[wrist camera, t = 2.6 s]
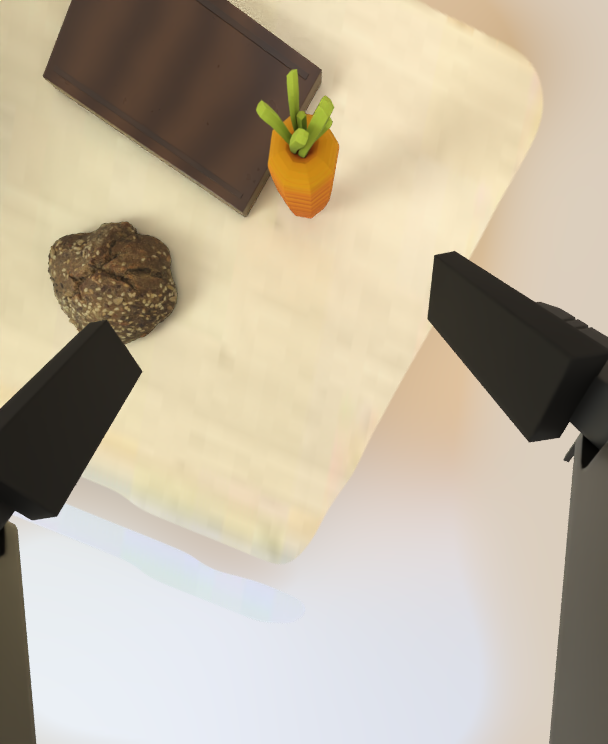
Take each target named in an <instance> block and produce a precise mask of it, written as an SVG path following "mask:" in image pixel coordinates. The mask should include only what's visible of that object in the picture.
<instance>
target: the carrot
mask: <svg viewBox="0 0 608 744" xmlns="http://www.w3.org/2000/svg"><path fill="white" fill-rule="evenodd" d="M287 91H288V101H289V110H290V116H289V117H288V118H287V119H286V120H285V121H284V122H283V121H282V120H281V119H280V117H279V116H278V114H277V113H276V112H275V111H274V110H273V109H272V108H271V107H270V106H269V105H268V104H266V103H265V102H263V101H262V100H261V101H260V102H259V104H258V106H257V109H256V111H257V114H258V115H259V116H260V118H261V119H263V120H264V121H265V122H266V123H267V124H269V125H270V126H271V127H272V128H273V129H274V130H273V131H272V137H271V144H270V152H269V159H268V168H269V171H270V174H271V176H272V179H273V181H274V183H275V186H276V188H277V190H278V192H279V193H280V195H281V196H282V198H283V199H284V201H285V202H286V204H287V205H288V207H289V208H290V210H291V211H292V212H293V213H294V214H295V215H296V216H300V217H306V218H312V217H313V216H315V215H316V214H317V213H319V212H320V211H321V210H323V209H324V207H325V206H326V205H327V203H328V201H329V200H330V195H331V191H332V186H333V180H334V175H335V169H336V163H337V157H338V152H339V144H338V142H337V140H336V138H335V137H334V135H333V134H332V132H331V130H330V129H329V128H330V127H331V125H332V120H331V118H330V115H331V113H332V111H333V109H334V106H333V104H332V102H331V100H330V99H329V98H328V97H327V96H324V97H323V98H322V100H321V101H320V103H319V105H318V107H317V109H316V110H315V112H314V114H313V115H310V114H305V112H304V111H299V86H298V73H297V69H294V70H291V71H290V72H289V74H288V75H287Z"/></svg>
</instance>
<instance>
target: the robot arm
mask: <svg viewBox="0 0 608 744" xmlns="http://www.w3.org/2000/svg"><path fill="white" fill-rule="evenodd" d="M428 320H429V321H430V323H431V324H432V325H433V326H434V328H435V329H436V330H437V331H438V332H439V333H440V335H441V336H442V337H443V338H444V340H445V341H446V342H447V343H448V344H449V346H450V347H451V348H452V349H453V351H454V352H455V353H456V354H457V355H458V357H459V358H460V359H461V360H462V361H463V363H464V364H465V365H466V366H467V368H468V369H469V370H470V371H471V372H472V374H473V375H474V376H475V377H476V378H477V380H478V381H479V382H480V383H481V385H482V386H483V387H484V388H485V389H486V391H487V392H488V393H489V394H490V395H491V397H492V398H493V399H494V400H495V401H496V403H497V404H498V405H499V406H500V408H501V409H502V410H503V411H504V412H505V414H506V415H507V416H508V417H509V418H510V420H511V421H512V422H513V423H514V425H515V426H516V427H517V428H518V429H519V431H520V432H521V433H522V434H523V435H524V437H525V438H526V439H527V440H528V441H529V442H535V441H541V440H548V439H554V438H560V436H561V434H562V433H563V432H564V430H565V428H566V427H567V425H568V423H569V422H571V423H572V424H573V425H574V426H575V427H576V428H577V429H578V430H579V431H580V432H581V433H580V435H579V436H578V438H577V439H576V441H575V442H574V444H573V445H572V447H571V448H570V450H569V451H568V452H567V454H566V456H565V458H564V461H567V462H569V461H570V459H571V458H572V457H573V456H574V464H573V475H572V487H571V498H570V511H569V522H568V533H567V546H566V557H565V569H564V580H563V592H562V603H561V615H560V626H559V637H558V649H557V661H556V672H555V683H554V696H553V707H552V718H551V730H550V741H549V744H608V337H607V336H605V335H603V334H601V333H600V332H598V331H597V330H595V329H593V328H592V327H591V328H588V325H587V324H585V323H584V322H582V321H580V320H575V317H573V316H572V315H570V314H569V313H567V312H565V311H564V310H562V309H560V308H557V307H554V306H551V305H548V304H545V303H542V302H534V301H532V300H531V299H529V298H528V297H526V296H525V295H523V294H521V293H519V292H518V291H517V290H515V289H514V288H512V287H510V286H509V285H507V284H506V283H504V282H503V281H501V280H499V279H498V278H496V277H495V276H493V275H491V274H490V273H488V272H487V271H485V270H484V269H482V268H481V267H479V266H477V265H476V264H474V263H473V262H471V261H470V260H468V259H466V258H465V257H463V256H462V255H460V254H459V253H457V252H455V251H453V252H448V253H443V254H438V255H434V264H433V273H432V282H431V291H430V300H429V309H428ZM141 373H142V370H141V368H140V367H139V366H138V364H137V363H136V361H135V360H134V358H133V357H132V355H131V354H130V352H129V351H128V349H127V348H126V347H125V345H124V344H123V342H122V341H121V339H120V338H119V336H118V335H117V333H116V332H115V330H114V329H113V328H112V326H111V325H110V323H109V322H108V320H102V321H97V322H91V323H89V324H88V325H87V326H85V327H84V328H83V329H82V330H81V331H80V332H79V333H78V334H77V335H76V336H75V337H74V338H73V339H72V340H71V341H70V342H69V343H68V344H67V345H66V346H65V347H64V348H63V349H62V350H61V351H60V352H59V353H58V354H56V355H55V356H54V357H53V358H52V359H51V360H50V361H49V362H48V363H47V364H46V365H45V366H44V367H43V368H42V369H41V370H40V371H39V372H38V373H37V374H36V375H35V376H34V377H33V378H32V379H31V380H30V381H28V382H27V383H26V384H25V385H24V386H23V387H22V388H21V389H20V390H19V391H18V392H17V393H16V394H15V395H14V396H13V397H12V398H11V399H10V400H9V401H8V402H7V403H6V404H5V405H4V406H3V407H2V408H1V409H0V744H36V736H35V724H34V713H33V701H32V690H31V678H30V667H29V655H28V644H27V632H26V621H25V609H24V598H23V586H22V575H21V565H20V564H21V563H20V552H19V541H18V530H17V527H16V526H15V524H13V523H11V522H9V521H8V520H9V518H10V517H11V516H12V514H13V513H14V511H17V512H19V513H20V514H22V515H24V516H25V517H27V518H29V519H31V520H37V519H44V518H50V517H57V516H58V514H59V512H60V510H61V509H62V507H63V505H64V504H65V502H66V500H67V498H68V497H69V495H70V493H71V491H72V490H73V488H74V486H75V485H76V483H77V482H78V480H79V478H80V477H81V475H82V473H83V471H84V470H85V468H86V466H87V465H88V463H89V461H90V460H91V458H92V456H93V455H94V453H95V451H96V449H97V448H98V446H99V444H100V443H101V441H102V439H103V438H104V436H105V434H106V432H107V431H108V429H109V427H110V426H111V424H112V422H113V421H114V419H115V417H116V416H117V414H118V412H119V410H120V409H121V407H122V405H123V404H124V402H125V400H126V399H127V397H128V395H129V393H130V392H131V390H132V388H133V387H134V385H135V383H136V382H137V380H138V378H139V377H140V375H141Z"/></svg>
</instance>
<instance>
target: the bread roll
mask: <svg viewBox="0 0 608 744" xmlns="http://www.w3.org/2000/svg"><path fill="white" fill-rule="evenodd" d="M48 257H49V263H48V264H49V268H48V272H49V273H50V275H51V278H50V279H51V281H52V282H53V286H54V292H55V296H56V297H57V300H58V301H59V304H60V306H61V309H62V310H63V311H64V313H66V314H67V315H68V317H69V318H70V320H69V322H71V323H73V324H74V325H75V327H76V328H77V330H78V331H79V332H80V331H81V330H82V329H83V328H84V327H85V326H87V325H88V324H89V323H91V322H97V321H102V320H108V322H109V323H110V325H111V326H112V328H113V329H114V330H115V332H116V333H117V335H118V336H119V338H120V339H121V341H122V342H123V344H127V343H129V342H131V341H133V340H136V339H137V338H139V337H144V336H146V335H147V334H149V333H150V332H151V331H152V330H153V329H154V328H155V326H156V325H157V324H158V323H160V322H162V321H163V320H164V319H165V318H166V317H168V316H169V315H170V314H171V312H172V311H173V309H174V306H175V304H176V301H177V291H176V287H175V284H174V282H173V279H172V276H171V270H170V264H171V258H170V253H169V249H168V248H167V247H166V246H165V245H164V244H163V243H162V242H161V241H160V240H158V239H157V238H155V237H152V236H149V235H140V234H137V231H136V229H135V228H134V227H133V226H132V225H131V224H129V223H128V222H120V223H104V224H102V225H101V227H100V228H99V229H97V230H96V231H93V232H91V233H79V234H71V235H66V236H64V237H62V238H60V239H59V240H57V241H56V242H55V243H54V245H53V246H51V250H50V254H49V256H48Z"/></svg>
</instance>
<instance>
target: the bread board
mask: <svg viewBox="0 0 608 744" xmlns="http://www.w3.org/2000/svg"><path fill="white" fill-rule="evenodd" d="M294 69H297V73H298V86H299V111H304V112H305V111H306V109H307V108H308V106H309V104H310V102H311V100H312V99H313V97H314V95H315V93H316V91H317V90H318V88H319V86H320V84H321V74H322V70H321V69H320V68H319V67H317V66H316V65H314V64H313V63H312V62H310V61H309V60H308V59H306V58H305V57H304V56H302V55H301V54H299V53H298V52H297V51H295V50H294V49H293V48H291V47H290V46H289V45H287V44H286V43H284V42H283V41H282V40H280V39H279V38H278V37H276V36H275V35H274V34H272V33H271V32H269V31H268V30H267V29H265V28H264V27H263V26H261V25H260V24H259V23H257V22H256V21H255V20H253V19H252V18H250V17H249V16H248V15H246V14H245V13H244V12H242V11H241V10H240V9H238V8H237V7H235V6H234V5H233V4H231V3H230V2H229V1H227V0H72V1H71V4H70V6H69V9H68V11H67V14H66V17H65V19H64V22H63V25H62V27H61V30H60V32H59V35H58V38H57V40H56V43H55V45H54V48H53V51H52V53H51V56H50V59H49V61H48V64H47V66H46V69H45V72H44V74H43V77H44V78H45V79H46V80H47V81H48V82H49V83H50V84H52V85H53V86H54V87H55V88H56V89H58V90H59V91H61V92H62V93H64V94H65V95H66V96H68V97H69V98H71V99H72V100H74V101H75V102H77V103H78V104H80V105H81V106H83V107H84V108H86V109H87V110H88V111H90V112H91V113H93V114H94V115H96V116H97V117H99V118H100V119H102V120H103V121H105V122H106V123H108V124H109V125H111V126H112V127H113V128H115V129H116V130H118V131H119V132H121V133H122V134H124V135H125V136H127V137H128V138H130V139H131V140H133V141H134V142H135V143H137V144H138V145H140V146H141V147H143V148H144V149H146V150H147V151H149V152H150V153H152V154H153V155H155V156H156V157H158V158H159V159H160V160H162V161H163V162H165V163H166V164H168V165H169V166H171V167H172V168H174V169H175V170H177V171H178V172H180V173H181V174H182V175H184V176H185V177H187V178H188V179H190V180H191V181H193V182H194V183H196V184H197V185H199V186H200V187H202V188H203V189H205V190H206V191H207V192H209V193H210V194H212V195H213V196H215V197H216V198H218V199H219V200H221V201H222V202H224V203H225V204H227V205H228V206H229V207H231V208H232V209H234V210H235V211H237V212H238V213H240V214H241V215H243V216H244V217H247V215H248V213H249V212H250V210H251V208H252V206H253V204H254V203H255V201H256V199H257V197H258V195H259V194H260V192H261V190H262V188H263V186H264V185H265V183H266V181H267V179H268V177H269V176H270V171H269V168H268V159H269V152H270V144H271V137H272V131H273V130H274V129H273V128H272V127H271V126H270V125H269V124H267V123H266V122H265V121H264V120H263V119H261V118H260V116H259V115H258V114H257V111H256V109H257V106H258V104H259V102H260V101H261V100H262V101H263V102H265V103H266V104H268V105H269V106H270V107H271V108H272V109H273V110H274V111H275V112H276V113H277V114H278V116H279V117H280V119H281V120H282V121H283V122H284V121H285V120H286V119H287V118H288V117H289V116H290V110H289V101H288V91H287V75H288V74H289V72H290V71H291V70H294Z"/></svg>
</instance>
